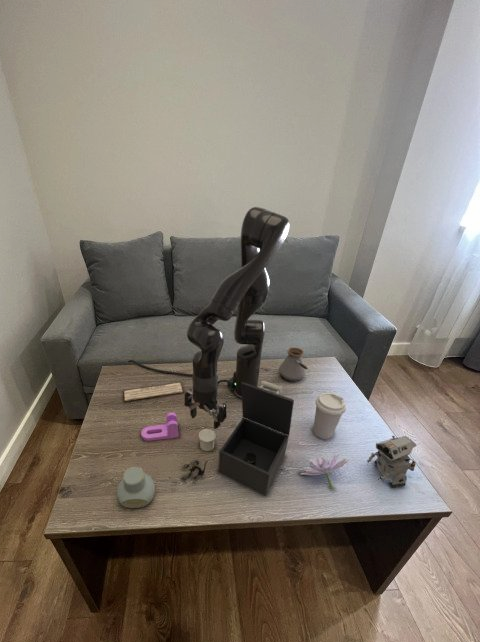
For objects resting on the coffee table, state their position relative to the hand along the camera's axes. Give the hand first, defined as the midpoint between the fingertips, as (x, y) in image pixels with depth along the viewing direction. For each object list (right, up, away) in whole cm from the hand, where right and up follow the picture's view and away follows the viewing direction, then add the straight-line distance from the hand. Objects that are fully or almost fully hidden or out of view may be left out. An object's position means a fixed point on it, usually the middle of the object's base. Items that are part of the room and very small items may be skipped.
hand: (205, 421), depth 104 cm
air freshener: (-20, -20, -10) cm, 30 cm away
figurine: (+54, -15, -6) cm, 57 cm away
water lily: (+36, -15, -5) cm, 39 cm away
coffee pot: (+40, +9, +33) cm, 52 cm away
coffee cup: (+42, -6, +9) cm, 44 cm away
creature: (-4, -15, -4) cm, 16 cm away
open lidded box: (+15, -13, -2) cm, 20 cm away
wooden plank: (-20, +6, +29) cm, 36 cm away
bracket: (-16, -7, +10) cm, 20 cm away
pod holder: (+14, -14, -3) cm, 20 cm away
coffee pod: (+1, -9, +5) cm, 11 cm away
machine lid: (+18, +5, -8) cm, 20 cm away
